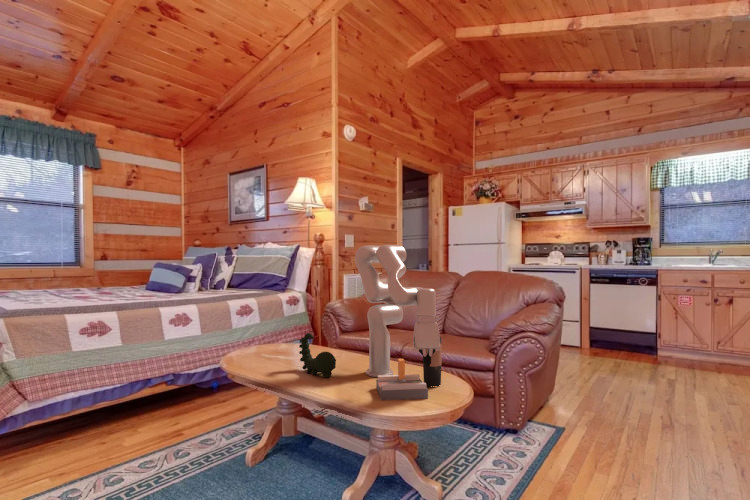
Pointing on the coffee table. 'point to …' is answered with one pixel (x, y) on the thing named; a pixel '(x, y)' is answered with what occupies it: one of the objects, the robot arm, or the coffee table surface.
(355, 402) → the coffee table surface
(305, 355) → the toy figurine
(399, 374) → the breaker lever
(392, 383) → the breaker block
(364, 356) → the coffee table surface
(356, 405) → the coffee table surface
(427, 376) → the travel mug
